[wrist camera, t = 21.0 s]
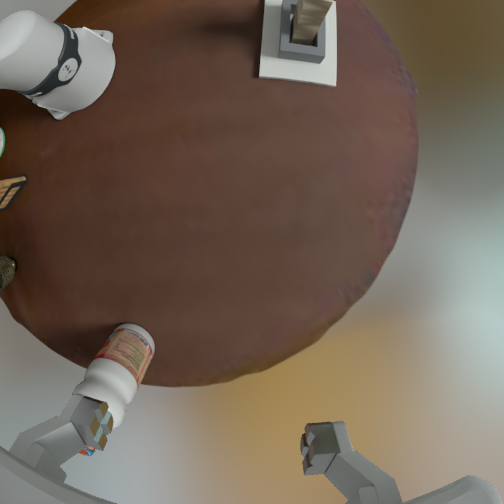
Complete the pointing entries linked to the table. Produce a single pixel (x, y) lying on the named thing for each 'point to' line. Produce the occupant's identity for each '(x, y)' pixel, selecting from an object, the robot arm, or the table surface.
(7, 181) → the ammunition clip
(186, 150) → the table surface
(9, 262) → the dark grey rounded lump
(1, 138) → the cup
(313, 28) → the slat
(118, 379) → the fruit juice
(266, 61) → the stand
